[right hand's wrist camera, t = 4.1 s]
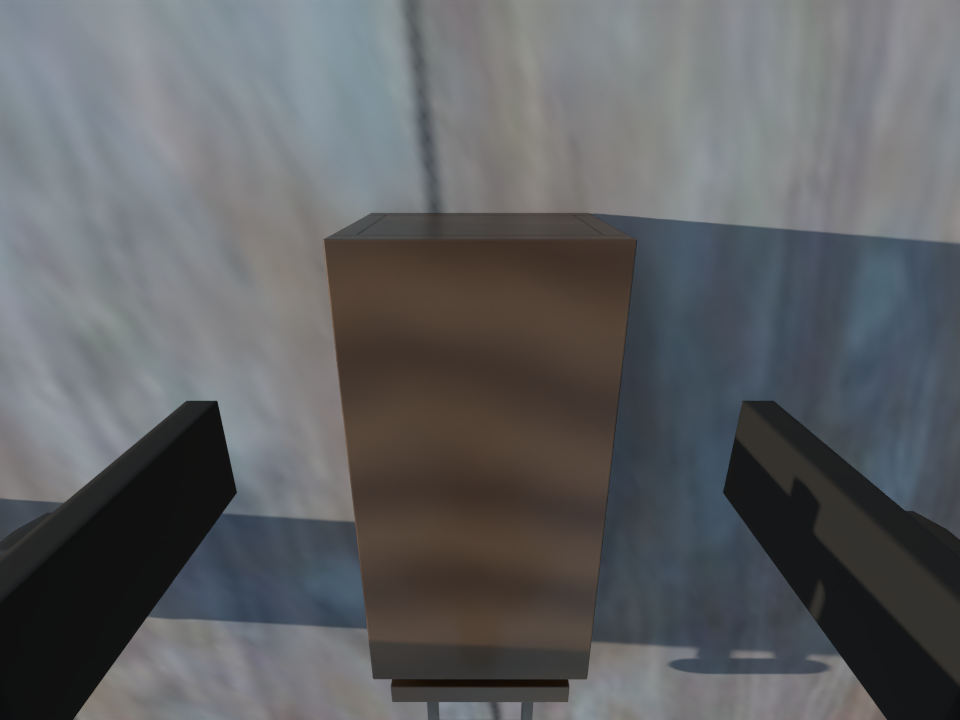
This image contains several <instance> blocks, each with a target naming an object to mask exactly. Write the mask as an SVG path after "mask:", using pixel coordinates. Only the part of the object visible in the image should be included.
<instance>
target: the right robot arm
mask: <svg viewBox="0 0 960 720" xmlns="http://www.w3.org/2000/svg"><path fill="white" fill-rule="evenodd" d="M236 493H237V491H236V486H235V482H234V477H233V472H232V468H231V463H230V458H229V454H228V449H227V444H226V440H225V435H224V430H223V426H222V421H221V416H220V411H219V407H218V402H217V401H186V402H185V403H183V404H182V405H181V406H180V407H179V408H177V409H176V410H175V411H174V412H173V413H171V414H170V415H169V416H168V417H167V418H165V419H164V420H163V421H162V422H161V423H159V424H158V425H157V426H156V427H155V428H154V429H152V430H151V431H150V432H149V433H148V434H146V435H145V436H144V437H143V438H142V439H140V440H139V441H138V442H137V443H136V444H134V445H133V446H132V447H131V448H130V449H128V450H127V451H126V452H125V453H124V454H122V455H121V456H120V457H119V458H118V459H116V460H115V461H114V462H113V463H112V464H110V465H109V466H108V467H107V468H106V469H104V470H103V471H102V472H101V473H100V474H98V475H97V476H96V477H95V478H94V479H92V480H91V481H90V482H89V483H88V484H86V485H85V486H84V487H83V488H82V489H80V490H79V491H78V492H77V493H76V494H74V495H73V496H72V497H71V498H70V499H68V500H67V501H66V502H65V503H64V504H62V505H61V506H60V507H59V508H58V509H56V510H55V511H54V512H53V513H46V514H45V515H43V516H41V517H39V518H37V519H35V520H34V521H32V522H30V523H28V524H26V525H25V526H23V527H21V528H19V529H17V530H15V531H14V532H12V533H11V534H10V535H9V536H8V537H6V538H5V539H4V540H3V541H1V542H0V720H73V719H74V717H75V716H76V715H77V713H78V712H79V711H80V709H81V708H82V706H83V705H84V704H85V702H86V701H87V699H88V698H89V697H90V695H91V694H92V693H93V691H94V690H95V688H96V687H97V686H98V684H99V683H100V681H101V680H102V679H103V677H104V676H105V675H106V673H107V672H108V670H109V669H110V668H111V666H112V665H113V663H114V662H115V661H116V659H117V658H118V657H119V655H120V654H121V652H122V651H123V650H124V648H125V647H126V645H127V644H128V643H129V641H130V640H131V639H132V637H133V636H134V634H135V633H136V632H137V630H138V629H139V627H140V626H141V625H142V623H143V622H144V621H145V619H146V618H147V616H148V615H149V614H150V612H151V611H152V609H153V608H154V607H155V605H156V604H157V603H158V601H159V600H160V598H161V597H162V596H163V594H164V593H165V591H166V590H167V589H168V587H169V586H170V585H171V583H172V582H173V580H174V579H175V578H176V576H177V575H178V573H179V572H180V571H181V569H182V568H183V567H184V565H185V564H186V562H187V561H188V560H189V558H190V557H191V555H192V554H193V553H194V551H195V550H196V549H197V547H198V546H199V544H200V543H201V542H202V540H203V539H204V537H205V536H206V535H207V533H208V532H209V531H210V529H211V528H212V526H213V525H214V524H215V522H216V521H217V519H218V518H219V517H220V515H221V514H222V513H223V511H224V510H225V508H226V507H227V506H228V504H229V503H230V501H231V500H232V499H233V497H234V496H235V495H236ZM723 493H724V495H725V496H726V497H727V499H728V500H729V501H730V503H731V504H732V506H733V507H734V508H735V510H736V511H737V513H738V514H739V515H740V517H741V518H742V519H743V521H744V522H745V524H746V525H747V526H748V528H749V529H750V531H751V532H752V533H753V535H754V536H755V537H756V539H757V540H758V542H759V543H760V544H761V546H762V547H763V549H764V550H765V551H766V553H767V554H768V555H769V557H770V558H771V560H772V561H773V562H774V564H775V565H776V567H777V568H778V569H779V571H780V572H781V573H782V575H783V576H784V578H785V579H786V580H787V582H788V583H789V585H790V586H791V587H792V589H793V590H794V591H795V593H796V594H797V596H798V597H799V598H800V600H801V601H802V603H803V604H804V605H805V607H806V608H807V609H808V611H809V612H810V614H811V615H812V616H813V618H814V619H815V621H816V622H817V623H818V625H819V626H820V627H821V629H822V630H823V632H824V633H825V634H826V636H827V637H828V639H829V640H830V641H831V643H832V644H833V645H834V647H835V648H836V650H837V651H838V652H839V654H840V655H841V657H842V658H843V659H844V661H845V662H846V663H847V665H848V666H849V668H850V669H851V670H852V672H853V673H854V675H855V676H856V677H857V679H858V680H859V681H860V683H861V684H862V686H863V687H864V688H865V690H866V691H867V693H868V694H869V695H870V697H871V698H872V699H873V701H874V702H875V704H876V705H877V706H878V708H879V709H880V711H881V712H882V713H883V715H884V716H885V717H886V719H887V720H960V540H959V539H958V538H957V537H956V536H954V535H953V534H952V533H951V532H949V531H948V530H947V529H945V528H943V527H941V526H939V525H938V524H936V523H934V522H932V521H930V520H928V519H927V518H925V517H923V516H921V515H919V514H917V513H916V512H914V511H905V510H904V509H902V508H901V507H900V506H899V505H898V504H896V503H895V502H894V501H893V500H892V499H890V498H889V497H888V496H887V495H886V494H884V493H883V492H882V491H881V490H880V489H878V488H877V487H876V486H875V485H874V484H872V483H871V482H870V481H869V480H868V479H866V478H865V477H864V476H863V475H862V474H860V473H859V472H858V471H857V470H856V469H854V468H853V467H852V466H851V465H850V464H848V463H847V462H846V461H845V460H844V459H842V458H841V457H840V456H839V455H838V454H836V453H835V452H834V451H833V450H832V449H830V448H829V447H828V446H827V445H826V444H824V443H823V442H822V441H821V440H820V439H818V438H817V437H816V436H815V435H814V434H812V433H811V432H810V431H809V430H808V429H806V428H805V427H804V426H803V425H802V424H801V423H799V422H798V421H797V420H796V419H795V418H793V417H792V416H791V415H790V414H789V413H787V412H786V411H785V410H784V409H783V408H781V407H780V406H779V405H778V404H777V403H775V402H774V401H743V402H742V407H741V411H740V416H739V421H738V426H737V430H736V435H735V440H734V444H733V449H732V454H731V458H730V463H729V468H728V472H727V477H726V482H725V486H724V491H723Z"/></svg>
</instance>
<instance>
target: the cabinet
mask: <svg viewBox="0 0 960 720" xmlns="http://www.w3.org/2000/svg"><path fill="white" fill-rule="evenodd" d="M636 245H637V240H636V239H635V238H633V237H631V236H629V235H627V234H625V233H623V232H621V231H620V230H618V229H616V228H614V227H613V226H611V225H609V224H607V223H605V222H604V221H602V220H600V219H598V218H596V217H595V216H593V215H591V214H589V213H371V214H369V215H367V216H366V217H364V218H362V219H360V220H358V221H357V222H355V223H353V224H351V225H349V226H347V227H346V228H344V229H342V230H340V231H338V232H337V233H335V234H333V235H331V236H329V237H327V238H325V239H324V240H323V246H324V255H325V263H326V272H327V281H328V289H329V298H330V307H331V316H332V324H333V333H334V342H335V350H336V359H337V368H338V377H339V385H340V394H341V403H342V412H343V420H344V429H345V438H346V446H347V455H348V464H349V473H350V481H351V490H352V499H353V507H354V516H355V525H356V534H357V542H358V551H359V560H360V568H361V577H362V586H363V595H364V603H365V612H366V621H367V629H368V638H369V647H370V656H371V664H372V673H373V679H587V675H588V666H589V657H590V648H591V639H592V631H593V622H594V613H595V604H596V596H597V587H598V578H599V569H600V560H601V552H602V543H603V534H604V525H605V517H606V508H607V499H608V490H609V481H610V473H611V464H612V455H613V446H614V438H615V429H616V420H617V411H618V402H619V394H620V385H621V376H622V367H623V359H624V350H625V341H626V332H627V323H628V315H629V306H630V297H631V288H632V280H633V271H634V262H635V253H636Z"/></svg>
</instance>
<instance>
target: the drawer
mask: <svg viewBox="0 0 960 720" xmlns="http://www.w3.org/2000/svg"><path fill="white" fill-rule="evenodd" d="M391 693H392V702H427V707H428V720H439V702H522V706H521V720H532V712H533V702H568V695H569V682H568V679H392V683H391Z"/></svg>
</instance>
